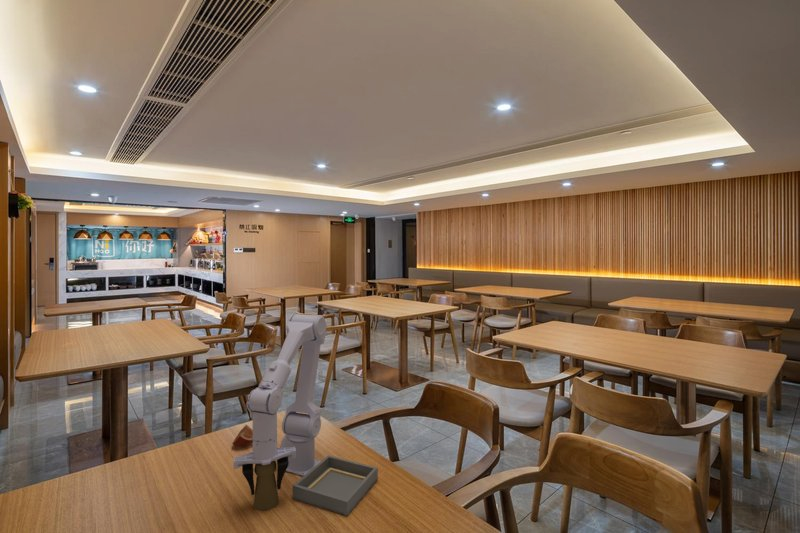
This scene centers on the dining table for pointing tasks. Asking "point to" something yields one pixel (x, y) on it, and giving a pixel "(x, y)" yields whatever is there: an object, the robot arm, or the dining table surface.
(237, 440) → the fruit slice
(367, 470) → the walled box
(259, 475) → the cork
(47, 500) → the dining table surface
